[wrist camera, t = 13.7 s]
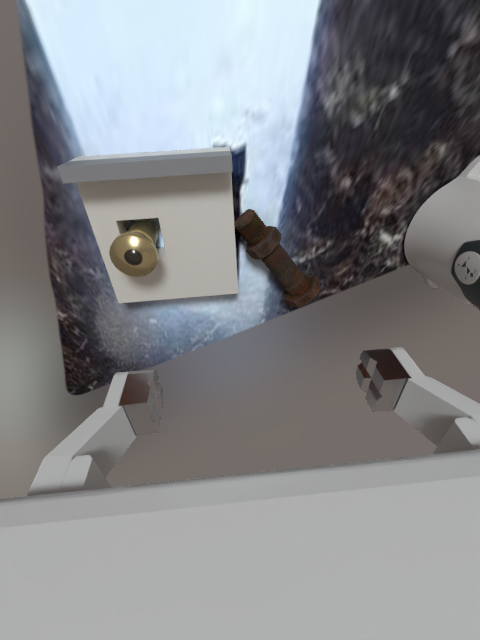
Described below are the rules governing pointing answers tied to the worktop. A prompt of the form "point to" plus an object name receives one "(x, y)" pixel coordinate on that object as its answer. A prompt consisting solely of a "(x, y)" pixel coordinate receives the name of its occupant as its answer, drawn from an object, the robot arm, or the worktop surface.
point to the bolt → (276, 259)
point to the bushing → (136, 249)
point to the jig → (164, 217)
